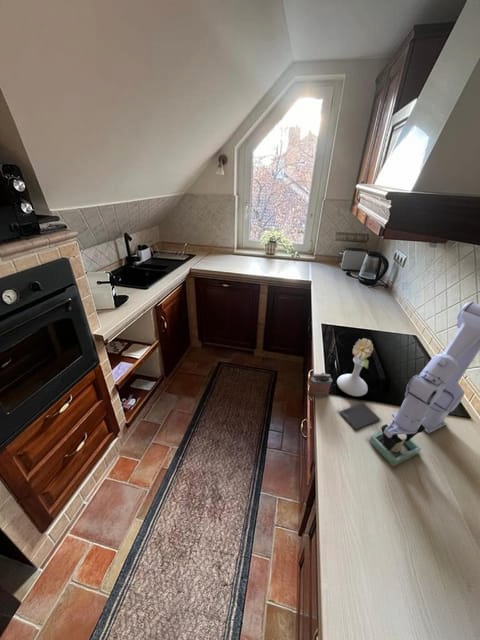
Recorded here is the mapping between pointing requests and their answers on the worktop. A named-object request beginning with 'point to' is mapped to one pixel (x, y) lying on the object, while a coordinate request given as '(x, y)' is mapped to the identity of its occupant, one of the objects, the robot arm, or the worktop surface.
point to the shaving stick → (399, 445)
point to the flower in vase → (357, 370)
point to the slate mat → (359, 416)
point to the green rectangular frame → (388, 455)
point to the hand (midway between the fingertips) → (395, 442)
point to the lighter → (319, 385)
